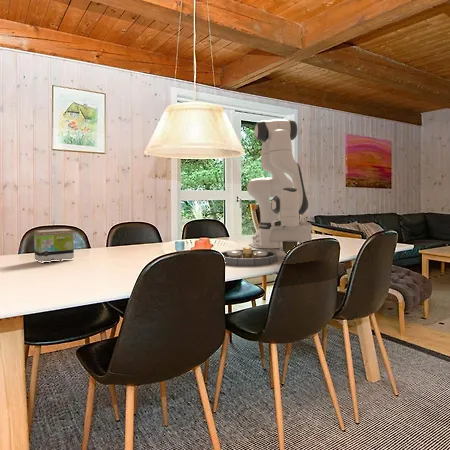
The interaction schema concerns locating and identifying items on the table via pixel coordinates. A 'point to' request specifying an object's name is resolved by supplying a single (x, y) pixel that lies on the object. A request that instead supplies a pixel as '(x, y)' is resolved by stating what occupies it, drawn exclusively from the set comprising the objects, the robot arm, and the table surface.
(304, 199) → the robot arm
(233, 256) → the tray
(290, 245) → the cup
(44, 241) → the tea box
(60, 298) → the table surface
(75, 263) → the table surface
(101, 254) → the table surface
